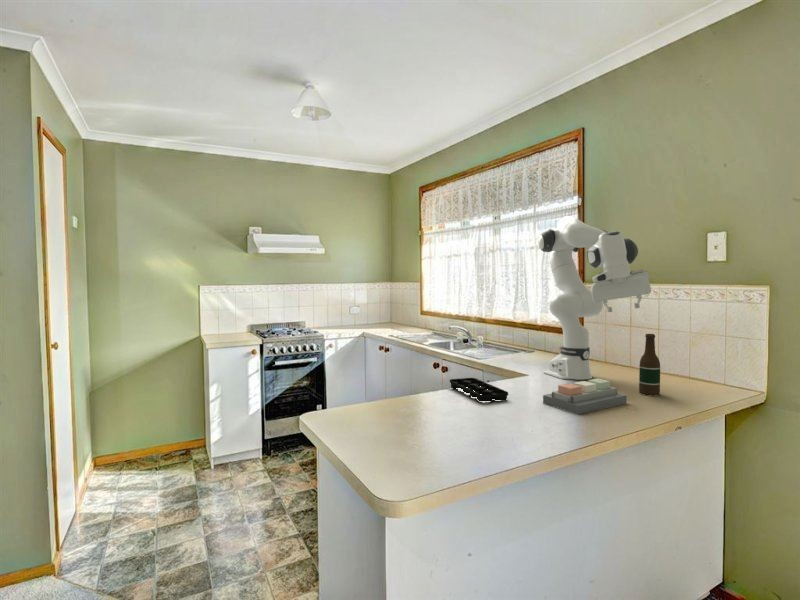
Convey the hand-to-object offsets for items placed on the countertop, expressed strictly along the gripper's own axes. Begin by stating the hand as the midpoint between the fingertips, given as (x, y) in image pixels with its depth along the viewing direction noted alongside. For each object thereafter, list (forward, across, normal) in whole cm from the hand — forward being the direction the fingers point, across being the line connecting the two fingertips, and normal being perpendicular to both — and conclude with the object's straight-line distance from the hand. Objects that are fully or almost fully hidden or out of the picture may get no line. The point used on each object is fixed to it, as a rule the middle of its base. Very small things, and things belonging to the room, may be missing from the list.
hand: (623, 309), depth 170 cm
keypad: (+32, +20, +8) cm, 38 cm away
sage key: (+28, +13, +2) cm, 31 cm away
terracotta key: (+26, +24, +14) cm, 38 cm away
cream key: (+27, +19, +8) cm, 34 cm away
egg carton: (+26, +60, +5) cm, 65 cm away
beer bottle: (+36, -6, -13) cm, 39 cm away
